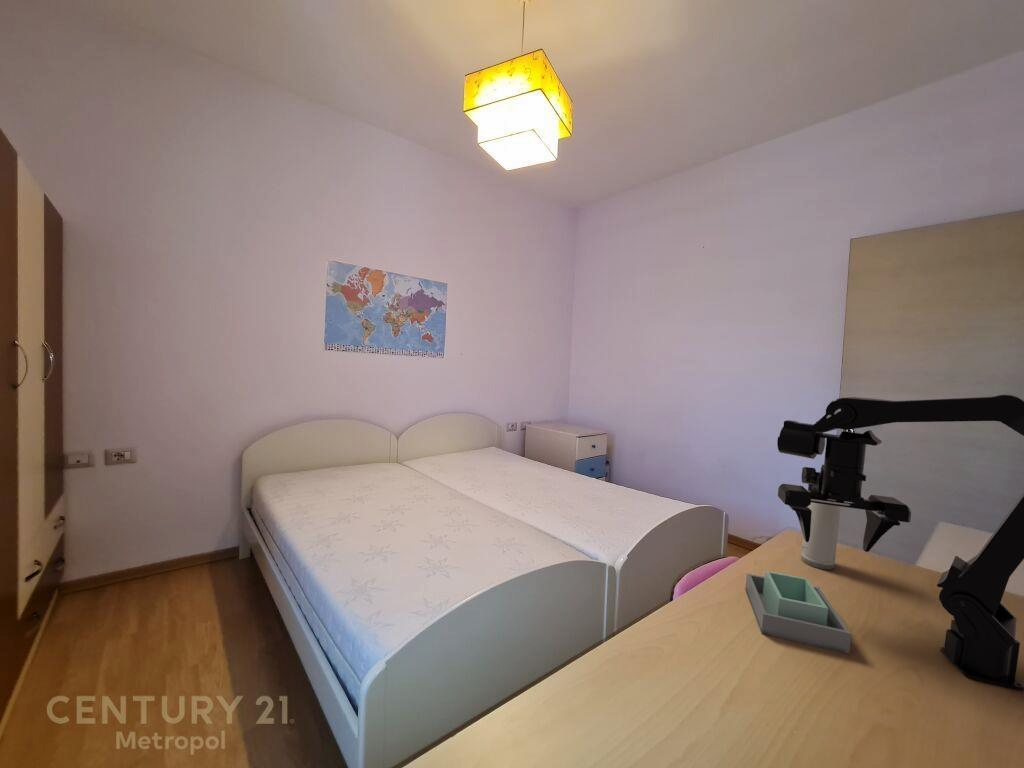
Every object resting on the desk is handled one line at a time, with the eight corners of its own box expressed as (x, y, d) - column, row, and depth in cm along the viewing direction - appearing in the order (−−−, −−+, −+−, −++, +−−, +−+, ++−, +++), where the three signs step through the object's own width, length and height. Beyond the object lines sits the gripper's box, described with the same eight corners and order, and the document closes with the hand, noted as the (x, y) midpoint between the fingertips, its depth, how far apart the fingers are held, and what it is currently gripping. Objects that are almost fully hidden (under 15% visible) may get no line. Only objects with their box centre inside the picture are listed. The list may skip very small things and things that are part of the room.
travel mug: (794, 559, 97) (801, 476, 95) (810, 554, 99) (818, 473, 98) (823, 572, 91) (832, 484, 89) (840, 567, 94) (849, 481, 92)
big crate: (817, 604, 78) (818, 587, 78) (849, 654, 65) (851, 633, 65) (745, 589, 83) (746, 573, 82) (761, 633, 69) (763, 614, 69)
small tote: (762, 595, 80) (765, 570, 79) (805, 603, 77) (807, 578, 77) (776, 626, 70) (779, 598, 70) (825, 637, 68) (828, 608, 68)
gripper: (884, 461, 80) (875, 538, 81) (774, 449, 87) (767, 521, 88) (917, 476, 70) (907, 564, 71) (789, 461, 76) (782, 543, 77)
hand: (835, 546), depth 77 cm, fingers open, 9 cm apart
